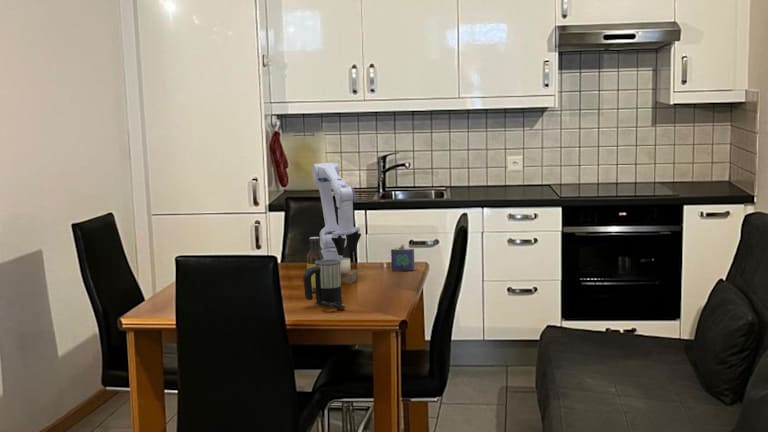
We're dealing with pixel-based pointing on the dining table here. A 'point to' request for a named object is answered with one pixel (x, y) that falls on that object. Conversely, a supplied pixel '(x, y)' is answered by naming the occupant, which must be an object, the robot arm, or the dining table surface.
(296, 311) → the dining table surface
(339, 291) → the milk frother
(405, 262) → the flask
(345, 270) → the cup
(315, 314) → the dining table surface
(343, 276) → the block
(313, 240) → the sauce bottle
